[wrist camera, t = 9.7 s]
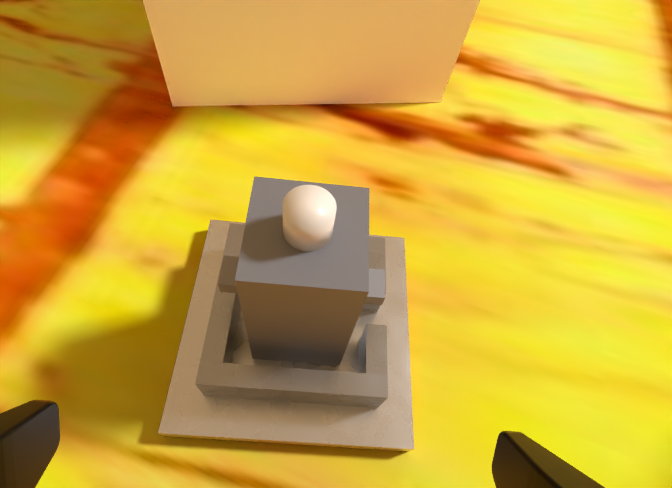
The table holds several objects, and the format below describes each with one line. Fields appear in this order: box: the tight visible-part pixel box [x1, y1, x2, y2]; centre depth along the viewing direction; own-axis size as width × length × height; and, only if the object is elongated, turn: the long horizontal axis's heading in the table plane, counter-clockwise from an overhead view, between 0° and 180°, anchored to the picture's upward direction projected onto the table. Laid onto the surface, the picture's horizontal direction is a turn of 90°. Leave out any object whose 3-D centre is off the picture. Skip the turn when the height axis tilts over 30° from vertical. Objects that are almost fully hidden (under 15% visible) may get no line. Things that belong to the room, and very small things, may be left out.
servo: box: [218, 177, 385, 365], centre depth 19 cm, size 4×7×10 cm, turn 87°
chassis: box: [158, 220, 414, 451], centre depth 22 cm, size 12×12×4 cm
